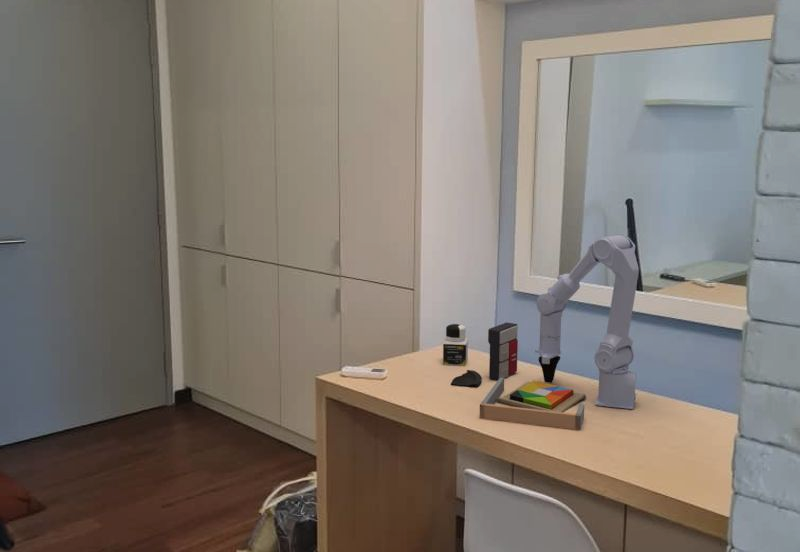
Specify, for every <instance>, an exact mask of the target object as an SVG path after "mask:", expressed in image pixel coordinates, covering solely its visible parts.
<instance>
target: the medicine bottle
mask: <svg viewBox="0 0 800 552" xmlns="http://www.w3.org/2000/svg"><path fill="white" fill-rule="evenodd" d="M468 348H469V339H468V338H467V337H466V326H465V325H463V324H461V323H460V324H459V323H453V324H452V323H451V324H449V325H447V326H445V339H444V340H443V343H442V349H443V350H442V365H443V366H458V367H459V366H460V367H461V366H462V367H466V366H467V362H468V360H469V359H468V358H469V357H468V355H469V349H468Z"/></svg>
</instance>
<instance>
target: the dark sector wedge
mask: <svg viewBox="0 0 800 552" xmlns="http://www.w3.org/2000/svg"><path fill="white" fill-rule="evenodd" d="M482 380H483V377H482V375H481V374H480V373H478V372H477V371H475V370H473V369H472V370H471V369H466V372H465V373H462V374H461V375H459V376H456V377H454V378H453V379H452V380H451V382H450V386H453V387H462V388H465V387H466V388H475V389H477V388H479V387H480V385H481V384H482Z"/></svg>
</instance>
